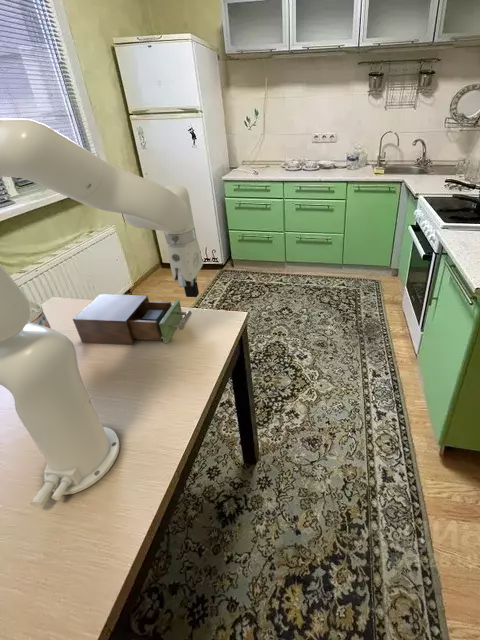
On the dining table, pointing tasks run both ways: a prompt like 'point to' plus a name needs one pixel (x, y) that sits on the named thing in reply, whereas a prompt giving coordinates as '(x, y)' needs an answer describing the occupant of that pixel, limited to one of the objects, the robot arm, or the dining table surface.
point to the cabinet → (108, 319)
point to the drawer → (150, 328)
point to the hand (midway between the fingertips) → (192, 295)
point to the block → (154, 316)
